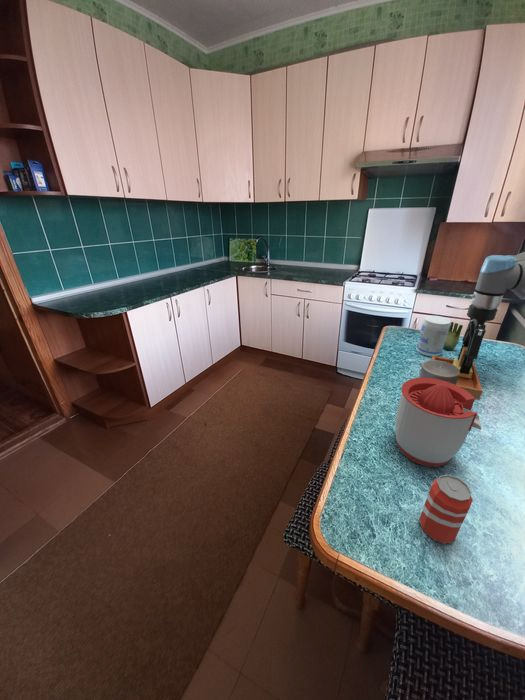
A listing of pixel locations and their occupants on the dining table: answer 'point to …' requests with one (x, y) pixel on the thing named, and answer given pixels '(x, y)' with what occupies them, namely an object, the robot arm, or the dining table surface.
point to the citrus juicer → (433, 420)
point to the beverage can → (445, 508)
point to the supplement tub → (433, 335)
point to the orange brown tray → (466, 380)
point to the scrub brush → (459, 362)
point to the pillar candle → (439, 371)
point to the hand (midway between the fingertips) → (462, 367)
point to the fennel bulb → (452, 336)
